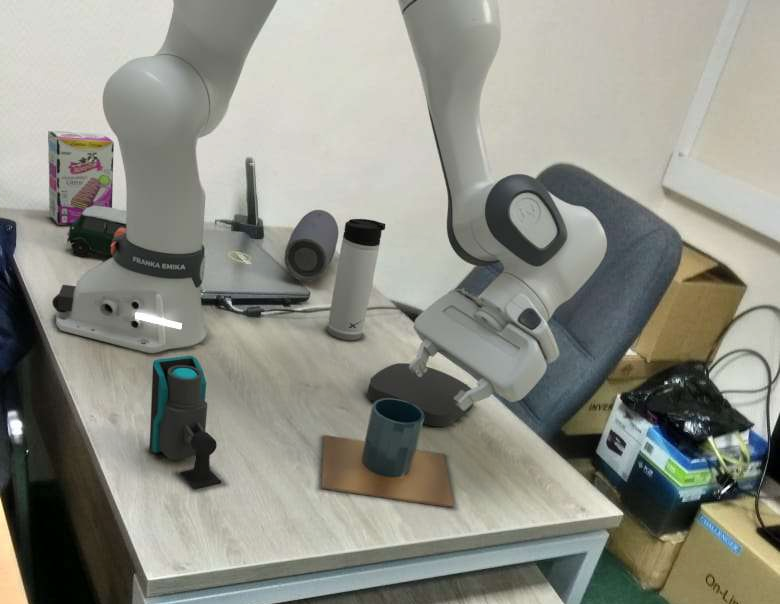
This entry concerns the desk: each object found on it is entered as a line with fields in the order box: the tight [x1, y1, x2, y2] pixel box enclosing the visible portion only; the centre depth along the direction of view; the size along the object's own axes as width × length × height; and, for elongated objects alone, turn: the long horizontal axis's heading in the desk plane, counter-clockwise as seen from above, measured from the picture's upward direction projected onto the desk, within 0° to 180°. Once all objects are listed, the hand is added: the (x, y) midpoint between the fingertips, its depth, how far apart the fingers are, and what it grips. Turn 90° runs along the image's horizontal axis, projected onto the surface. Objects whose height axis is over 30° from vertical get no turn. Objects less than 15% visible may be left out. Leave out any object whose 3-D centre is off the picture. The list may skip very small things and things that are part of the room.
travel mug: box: [326, 218, 386, 341], centre depth 138 cm, size 6×7×20 cm
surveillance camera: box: [149, 355, 222, 490], centre depth 95 cm, size 6×12×10 cm
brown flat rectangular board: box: [321, 434, 454, 509], centre depth 107 cm, size 17×13×1 cm
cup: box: [362, 398, 424, 477], centre depth 106 cm, size 7×7×8 cm
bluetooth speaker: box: [284, 209, 339, 282], centre depth 165 cm, size 23×9×10 cm, turn 178°
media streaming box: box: [367, 362, 474, 427], centre depth 126 cm, size 15×15×3 cm
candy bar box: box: [47, 130, 115, 226], centre depth 158 cm, size 11×5×16 cm, turn 130°
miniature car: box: [66, 206, 126, 257], centre depth 149 cm, size 9×18×8 cm, turn 89°
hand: (435, 388), depth 106 cm, fingers open, 8 cm apart
